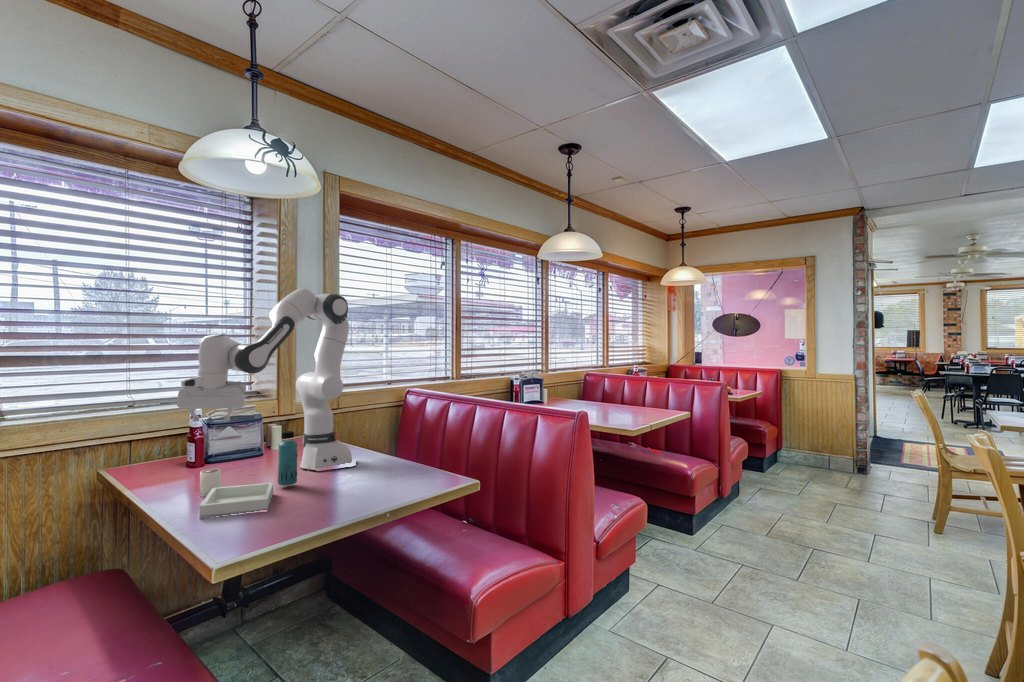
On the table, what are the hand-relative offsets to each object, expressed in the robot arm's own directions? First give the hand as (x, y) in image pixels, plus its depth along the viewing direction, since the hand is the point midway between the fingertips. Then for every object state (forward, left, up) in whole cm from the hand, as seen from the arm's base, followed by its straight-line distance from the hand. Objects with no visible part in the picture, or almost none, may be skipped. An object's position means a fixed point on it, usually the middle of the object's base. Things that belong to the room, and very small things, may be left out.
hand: (211, 421), depth 169 cm
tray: (-11, +18, -25) cm, 33 cm away
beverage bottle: (-24, +2, -25) cm, 35 cm away
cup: (0, +2, -25) cm, 25 cm away
